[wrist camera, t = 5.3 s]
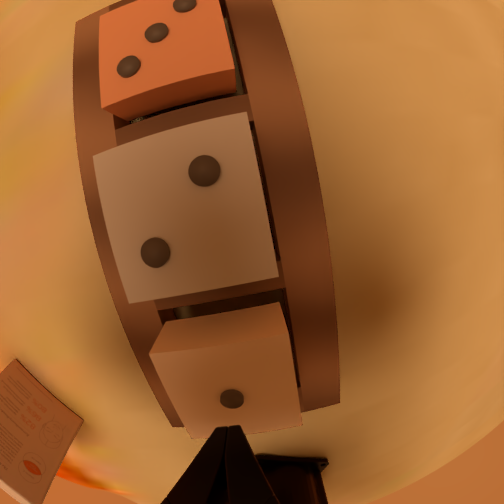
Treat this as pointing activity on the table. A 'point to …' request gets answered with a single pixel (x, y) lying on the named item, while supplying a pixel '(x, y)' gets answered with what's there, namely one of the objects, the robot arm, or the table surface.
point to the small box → (31, 435)
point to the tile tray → (275, 185)
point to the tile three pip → (163, 56)
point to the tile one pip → (229, 371)
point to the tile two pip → (186, 210)
